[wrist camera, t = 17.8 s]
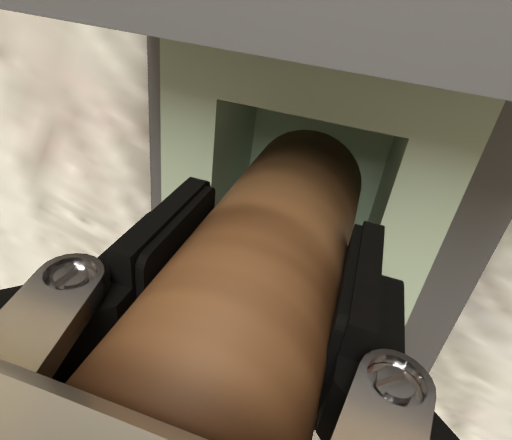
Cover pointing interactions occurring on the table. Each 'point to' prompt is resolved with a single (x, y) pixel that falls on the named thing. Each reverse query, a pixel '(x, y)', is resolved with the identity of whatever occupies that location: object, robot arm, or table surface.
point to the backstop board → (362, 62)
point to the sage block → (336, 125)
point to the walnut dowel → (242, 304)
